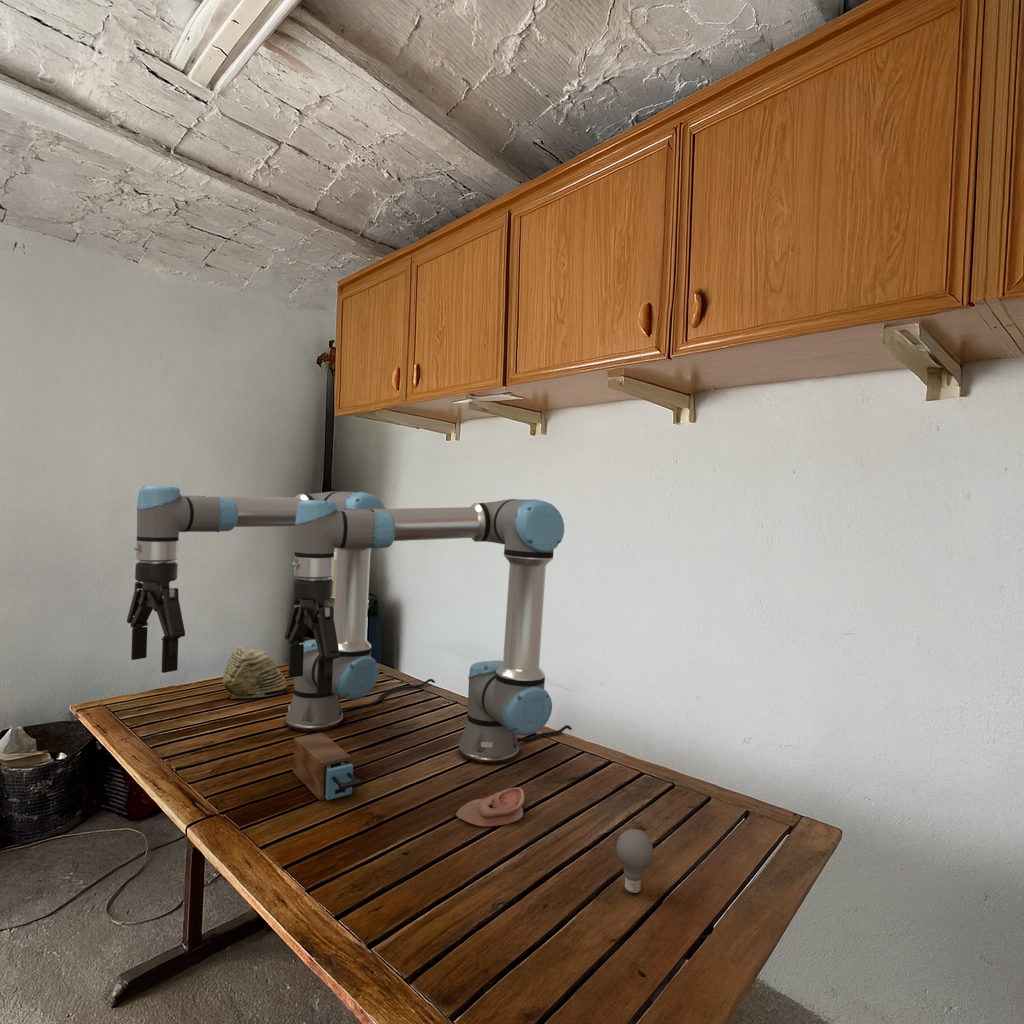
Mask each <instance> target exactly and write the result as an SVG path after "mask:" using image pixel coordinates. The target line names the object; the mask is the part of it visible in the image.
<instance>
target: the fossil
mask: <svg viewBox="0 0 1024 1024" xmlns="http://www.w3.org/2000/svg"><path fill="white" fill-rule="evenodd" d="M222 676H223V677H222V685H223V687H224V688H225V690H226V691H228V693H229V698H230V699H250V698H264V697H271V696H275V695H281V694H284V693H285V691H286V689H287V687H288V686H287V680H286V678H285V676H284V674H283V673H282V672H281V669H279V668H278V667H277V665H276V663H275V662H274V660H273V659H272V658H271V657H270V656H269V655H268V654H267V653H266V652H265V650H264V649H263V648H260V647H258V648H251V647H247V646H246V647H245V646H238V647H237V648H236V649H235V650H233V651H232V653H231V656H230V657H229V659H228V660H227V663H226V666H225V668H224V671H223V675H222Z"/></svg>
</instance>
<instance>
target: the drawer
mask: <svg viewBox="0 0 1024 1024" xmlns="http://www.w3.org/2000/svg"><path fill="white" fill-rule="evenodd" d="M361 785H362V780H361V778H357V777H356V776H354V765H353V764H352V763H351V764H346V765H345V762H340V763H335V764H331V765H327V766H325V775H324V791H325V792H326V799H325V800H327V801H330V800H333V799H337V798H342V797H346V796H348V795H352V794H353V788H354V787H357V786H361Z"/></svg>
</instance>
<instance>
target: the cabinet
mask: <svg viewBox="0 0 1024 1024" xmlns="http://www.w3.org/2000/svg"><path fill="white" fill-rule="evenodd" d="M292 754H293V755H292V757H293V758H292V773H293V774H294V775H295V776H296V777H297V778H298V779H299V780H300V782H302V784H304V786H306V787H307V789H308V790H309V791H310V792H311V793H312V794H313V795H314V796H315V798H316V799H318V800H319V801H324V800H327V799H326V792H325V791H324V775H325V766H327V765H331V764H335V763H340V762H345V765H346V764H352V756H351V755H350V754H349V753H347V751H345V750H344V749H343V748H342V747H340V745H338V744H337V743H336V742H334V741H333V740H332V739H331V738H330V737H328V736H327V735H326V734H325V733H323V731H320V732H314V733H311V734H306V735H300V736H295V737H293V753H292Z"/></svg>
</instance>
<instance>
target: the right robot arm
mask: <svg viewBox="0 0 1024 1024" xmlns="http://www.w3.org/2000/svg"><path fill="white" fill-rule="evenodd" d="M564 535H565V522H564V519H563V516H562V514H561V512H560V511H559V510H558V509H557V507H556V506H555V505H553V504H552V503H550V502H547V501H545V500H541V499H536V498H535V499H521V498H520V499H519V498H518V499H517V498H508V499H502V500H501V499H500V500H496V501H489V502H474V503H472V504H471V505H470V506H465V507H464V506H463V507H462V506H461V507H413V508H411V507H410V508H408V507H407V508H385V509H355V510H352V509H342V510H339V511H338V510H337V508H336V503H335V502H333V501H319V500H302V501H300V502H299V503H298V505H297V513H296V521H295V526H294V557H293V558H294V561H293V562H292V563H291V565H292V567H293V576H294V577H296V578H294V579H293V580H292V581H293V582H292V597H293V598H292V603H291V610H290V615H289V619H288V623H287V627H286V631H285V634H284V639H285V640H286V641H287V643H288V645H289V651H288V653H289V655H288V656H289V657H288V678H289V679H291V678H292V679H293V678H294V677H299V676H303V656H304V644H299V643H305V642H304V641H305V636H306V634H307V632H308V630H310V631H312V633H313V637H314V640H315V641H316V644H317V648H318V651H319V655H320V657H319V658H318V660H317V661H318V671H317V695H322V694H328V693H332V673H333V659H336V658H339V657H340V654H339V648H338V642H337V636H336V630H335V624H334V606H326V600H329V599H331V598H332V597H333V592H334V580H333V579H332V577H334V571H335V549H337V548H372V549H374V550H377V549H388V548H390V547H392V545H393V543H394V542H406V541H407V542H409V541H429V540H430V541H434V540H454V539H455V540H456V539H459V540H460V539H471V540H472V541H473V542H476V543H480V542H481V543H482V542H483V543H485V542H487V543H494V544H500V545H504V547H503V556H504V558H505V559H506V560H507V561H508V562H509V567H508V569H509V570H508V582H507V583H508V584H507V597H506V598H507V599H506V613H505V626H504V627H505V629H504V640H503V641H504V643H503V658H502V659H503V660H484V661H477V662H475V663H472V664H471V666H470V667H469V674H468V689H467V690H468V692H467V693H468V694H467V695H468V696H467V720H466V724H465V726H464V729H463V732H462V735H461V737H460V740H459V744H458V753H459V755H460V757H462V758H463V759H465V760H466V761H469V762H471V763H476V764H482V765H500V764H505V763H509V762H512V761H514V760H515V759H517V757H519V754H520V745H519V742H530V741H533V740H536V739H538V738H542V737H547V736H554V735H560V734H561V733H563V732H564V731H565V730H567V729H568V730H570V731H571V730H573V728H572V727H571V726H570V725H568V724H566V725H564V726H563V727H561V728H560V729H558V730H554V731H546V732H541V733H537V732H539V731H540V730H542V728H543V726H545V725H546V724H547V723H548V721H549V719H550V717H551V715H552V711H553V701H552V698H551V695H550V694H549V693H548V691H547V690H545V683H546V673H545V672H544V670H542V668H541V667H540V660H541V647H542V646H541V645H542V630H543V618H544V602H545V588H546V574H547V573H546V571H547V566H548V564H549V563H551V562H552V560H554V550H555V549H557V548H558V546H559V544H561V543H562V541H563V539H564ZM535 733H536V734H535ZM533 734H534V735H533ZM517 735H518V736H523V737H517ZM531 735H532V736H531ZM524 736H527V737H524ZM528 736H529V737H528Z"/></svg>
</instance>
